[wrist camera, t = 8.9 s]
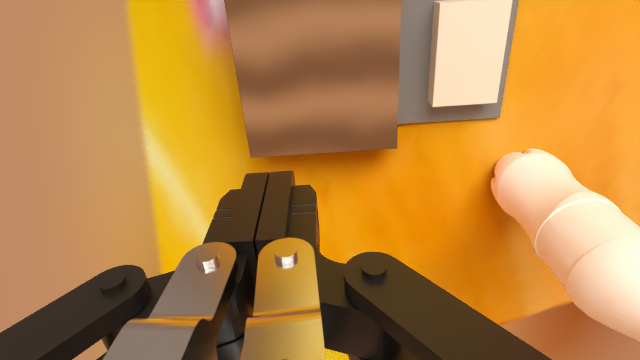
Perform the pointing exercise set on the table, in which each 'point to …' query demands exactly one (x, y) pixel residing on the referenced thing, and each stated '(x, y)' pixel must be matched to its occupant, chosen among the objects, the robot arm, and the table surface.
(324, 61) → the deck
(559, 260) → the water bottle
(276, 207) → the robot arm
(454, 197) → the table surface
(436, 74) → the white flat block
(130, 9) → the table surface
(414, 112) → the mat
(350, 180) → the table surface
